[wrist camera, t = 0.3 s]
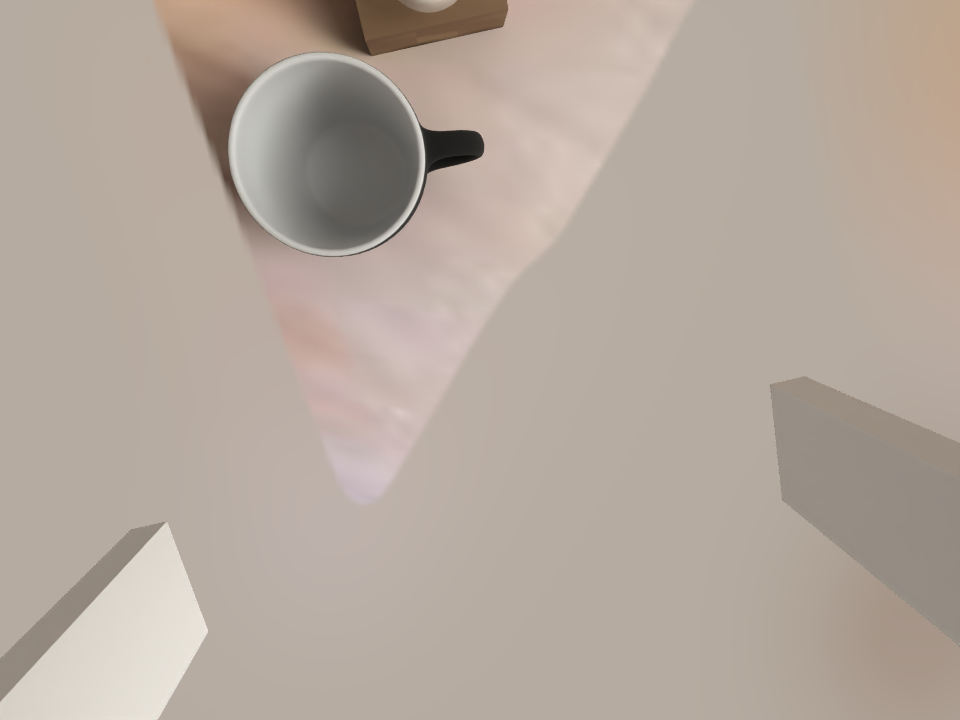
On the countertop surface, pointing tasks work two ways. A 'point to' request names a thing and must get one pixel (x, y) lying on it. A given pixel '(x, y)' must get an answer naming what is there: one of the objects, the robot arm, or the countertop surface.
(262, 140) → the mug
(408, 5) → the knob
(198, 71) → the countertop surface
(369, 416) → the countertop surface
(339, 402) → the countertop surface
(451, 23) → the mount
